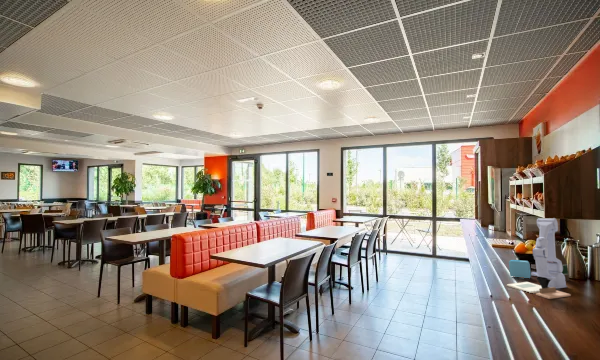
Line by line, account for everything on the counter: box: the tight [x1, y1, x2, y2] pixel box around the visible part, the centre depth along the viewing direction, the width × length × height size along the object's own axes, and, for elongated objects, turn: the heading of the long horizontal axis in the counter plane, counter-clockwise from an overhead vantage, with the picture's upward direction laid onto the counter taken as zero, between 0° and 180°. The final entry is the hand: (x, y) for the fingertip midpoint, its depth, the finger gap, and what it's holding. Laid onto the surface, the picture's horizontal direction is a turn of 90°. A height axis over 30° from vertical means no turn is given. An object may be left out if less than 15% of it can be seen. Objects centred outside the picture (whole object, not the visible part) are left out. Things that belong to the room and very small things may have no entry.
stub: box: [535, 287, 571, 300], centre depth 179 cm, size 15×8×4 cm, turn 99°
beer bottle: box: [553, 243, 570, 282], centre depth 207 cm, size 8×8×24 cm
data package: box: [508, 259, 532, 279], centre depth 219 cm, size 12×4×12 cm, turn 46°
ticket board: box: [506, 281, 542, 294], centre depth 194 cm, size 16×18×1 cm
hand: (544, 289), depth 184 cm, fingers closed
